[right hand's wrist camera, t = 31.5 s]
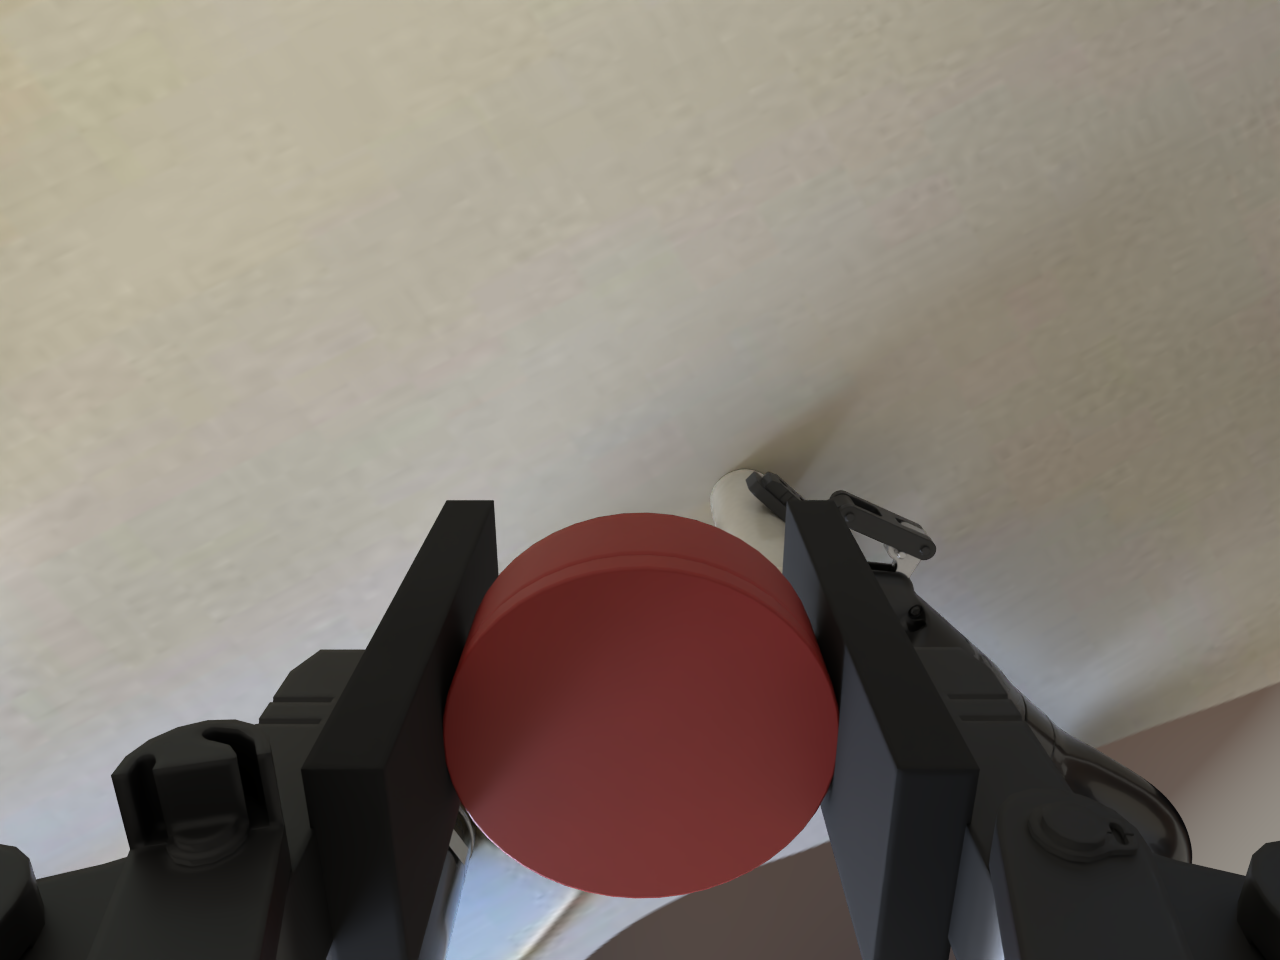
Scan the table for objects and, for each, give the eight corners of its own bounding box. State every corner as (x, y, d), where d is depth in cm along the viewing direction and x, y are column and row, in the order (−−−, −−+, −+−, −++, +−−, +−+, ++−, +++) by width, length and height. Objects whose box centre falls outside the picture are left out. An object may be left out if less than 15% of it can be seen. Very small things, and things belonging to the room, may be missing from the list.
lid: (495, 823, 13) (476, 913, 11) (438, 527, 11) (406, 586, 10) (820, 796, 13) (844, 885, 11) (810, 493, 11) (837, 549, 10)
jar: (750, 455, 54) (791, 563, 40) (790, 504, 56) (844, 627, 41) (696, 496, 55) (718, 616, 41) (736, 543, 57) (771, 676, 42)
